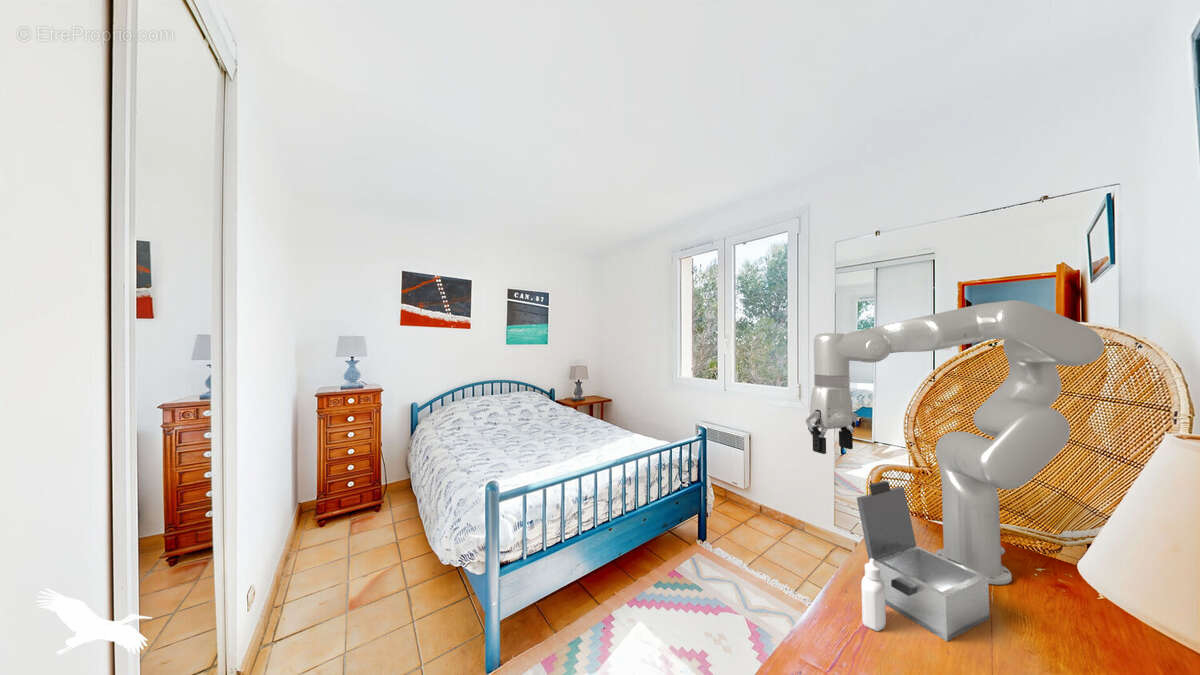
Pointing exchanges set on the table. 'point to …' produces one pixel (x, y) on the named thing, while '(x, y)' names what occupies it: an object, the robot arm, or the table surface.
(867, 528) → the lid
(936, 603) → the grey rectangular box
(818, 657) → the table surface
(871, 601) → the eye dropper bottle
